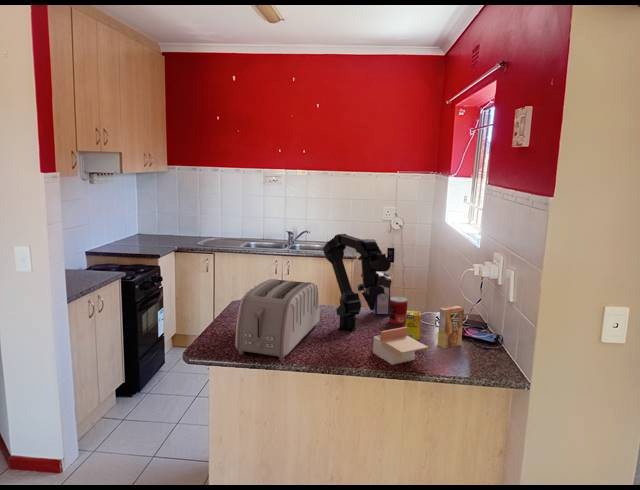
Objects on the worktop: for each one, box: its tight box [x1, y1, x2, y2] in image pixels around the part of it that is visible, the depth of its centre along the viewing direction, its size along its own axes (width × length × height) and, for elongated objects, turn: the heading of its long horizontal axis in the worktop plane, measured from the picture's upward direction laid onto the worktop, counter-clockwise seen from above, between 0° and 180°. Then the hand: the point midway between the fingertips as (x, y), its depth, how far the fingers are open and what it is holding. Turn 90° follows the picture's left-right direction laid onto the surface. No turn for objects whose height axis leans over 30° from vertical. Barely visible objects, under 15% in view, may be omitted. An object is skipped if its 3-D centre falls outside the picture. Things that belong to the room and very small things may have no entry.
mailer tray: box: [372, 335, 416, 366], centre depth 175 cm, size 12×10×6 cm
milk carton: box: [372, 271, 392, 317], centre depth 223 cm, size 7×7×20 cm
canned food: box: [388, 296, 408, 326], centre depth 212 cm, size 8×8×11 cm
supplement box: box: [404, 310, 422, 342], centre depth 193 cm, size 6×6×11 cm
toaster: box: [234, 278, 321, 361], centre depth 188 cm, size 21×45×22 cm, turn 163°
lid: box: [380, 326, 429, 359], centre depth 169 cm, size 13×11×5 cm
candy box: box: [437, 305, 465, 349], centre depth 186 cm, size 9×4×15 cm, turn 116°
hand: (372, 310), depth 188 cm, fingers closed
